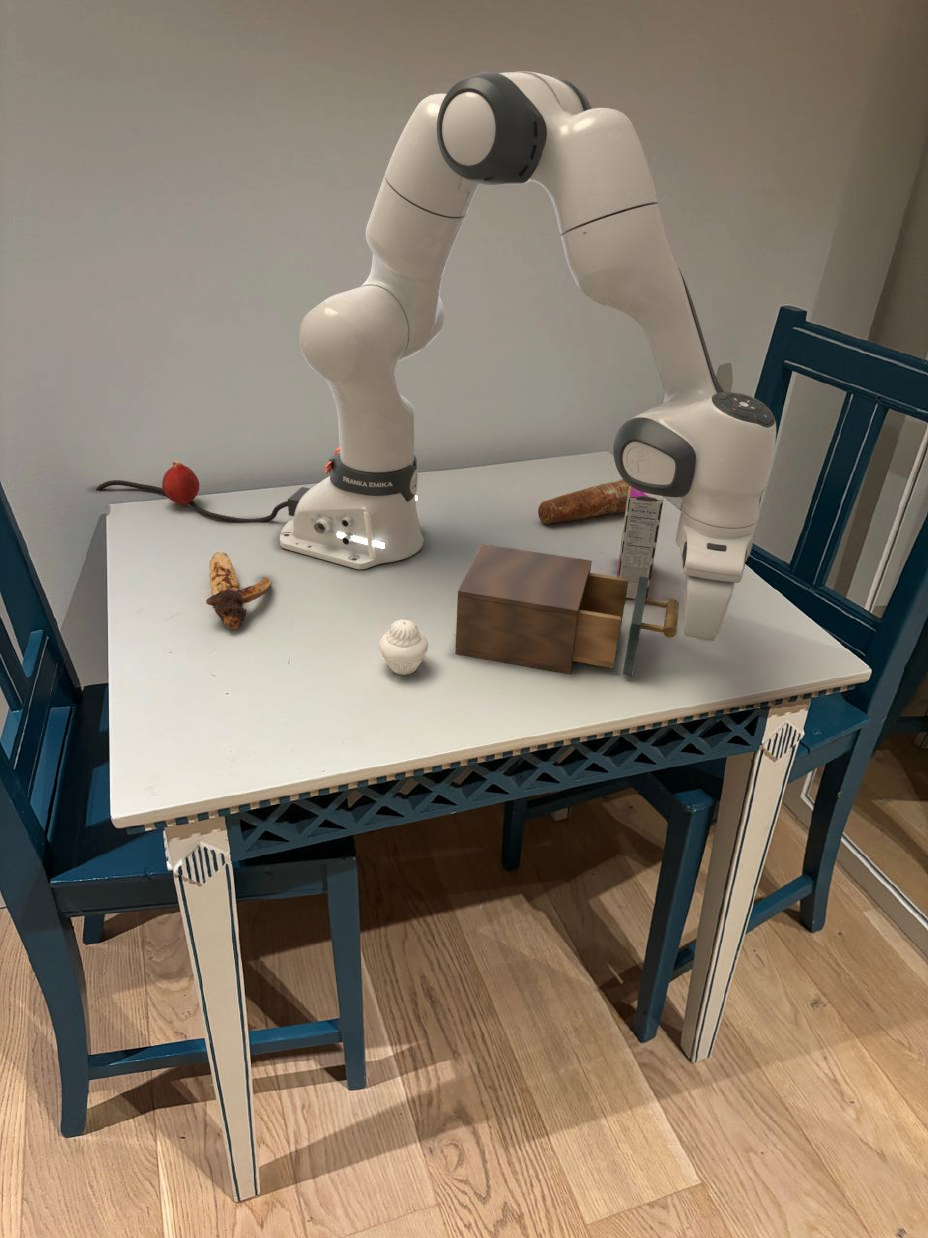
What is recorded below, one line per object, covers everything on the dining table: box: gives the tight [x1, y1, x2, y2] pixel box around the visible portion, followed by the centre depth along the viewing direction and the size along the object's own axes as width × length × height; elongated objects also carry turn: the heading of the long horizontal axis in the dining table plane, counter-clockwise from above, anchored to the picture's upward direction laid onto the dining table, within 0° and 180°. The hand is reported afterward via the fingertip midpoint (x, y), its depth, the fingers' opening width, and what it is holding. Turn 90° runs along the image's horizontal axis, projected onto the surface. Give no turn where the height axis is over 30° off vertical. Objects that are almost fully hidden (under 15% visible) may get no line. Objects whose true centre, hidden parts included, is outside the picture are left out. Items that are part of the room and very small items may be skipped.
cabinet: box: [454, 543, 593, 675], centre depth 117 cm, size 15×13×10 cm
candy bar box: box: [616, 485, 665, 601], centre depth 129 cm, size 11×5×16 cm, turn 168°
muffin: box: [378, 618, 429, 676], centre depth 111 cm, size 6×6×7 cm
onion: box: [161, 460, 200, 507], centre depth 147 cm, size 6×6×8 cm
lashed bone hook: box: [205, 551, 272, 630], centre depth 124 cm, size 9×5×18 cm
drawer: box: [572, 571, 680, 677], centre depth 115 cm, size 18×12×8 cm, turn 76°
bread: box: [537, 478, 629, 525], centre depth 151 cm, size 6×19×6 cm, turn 113°
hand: (694, 630), depth 113 cm, fingers closed
